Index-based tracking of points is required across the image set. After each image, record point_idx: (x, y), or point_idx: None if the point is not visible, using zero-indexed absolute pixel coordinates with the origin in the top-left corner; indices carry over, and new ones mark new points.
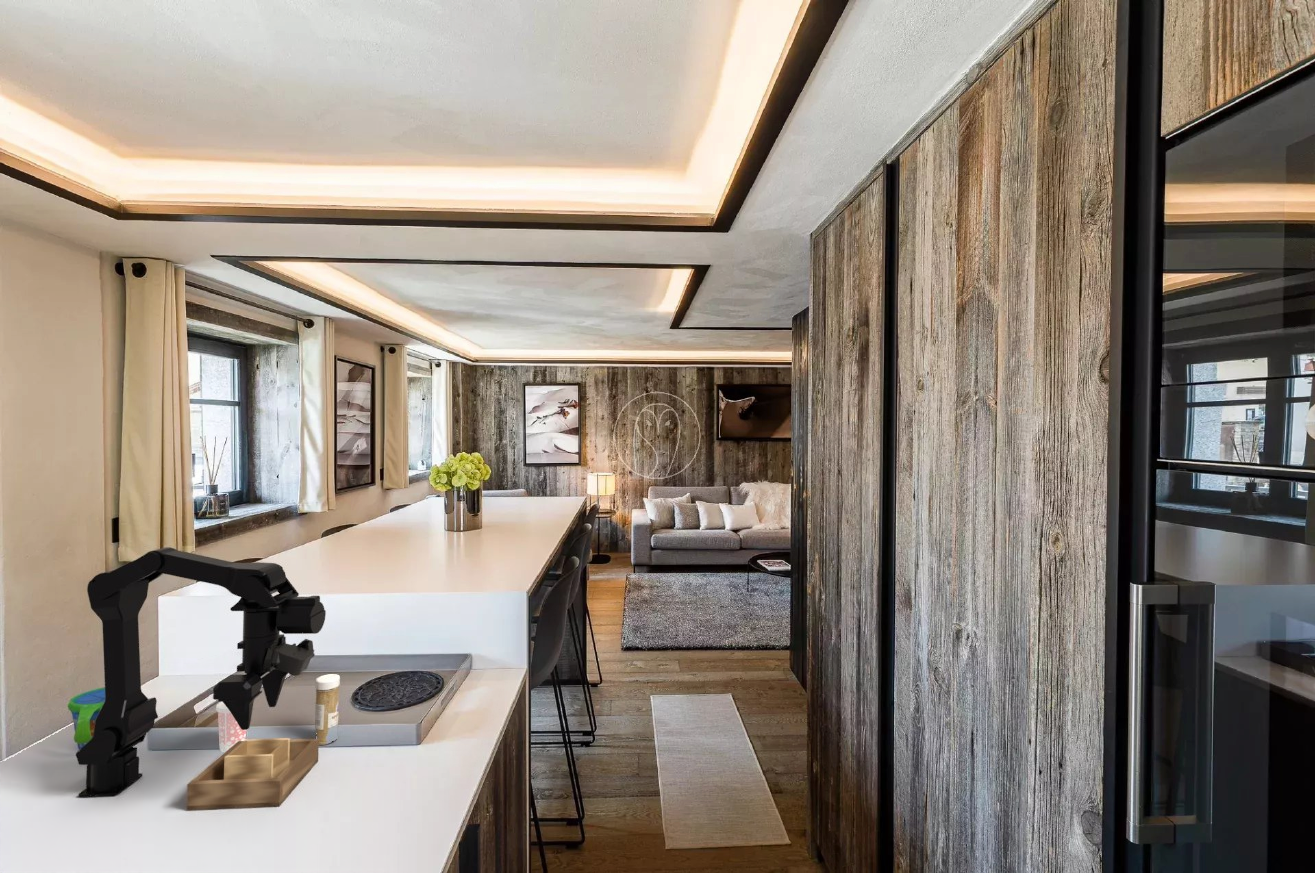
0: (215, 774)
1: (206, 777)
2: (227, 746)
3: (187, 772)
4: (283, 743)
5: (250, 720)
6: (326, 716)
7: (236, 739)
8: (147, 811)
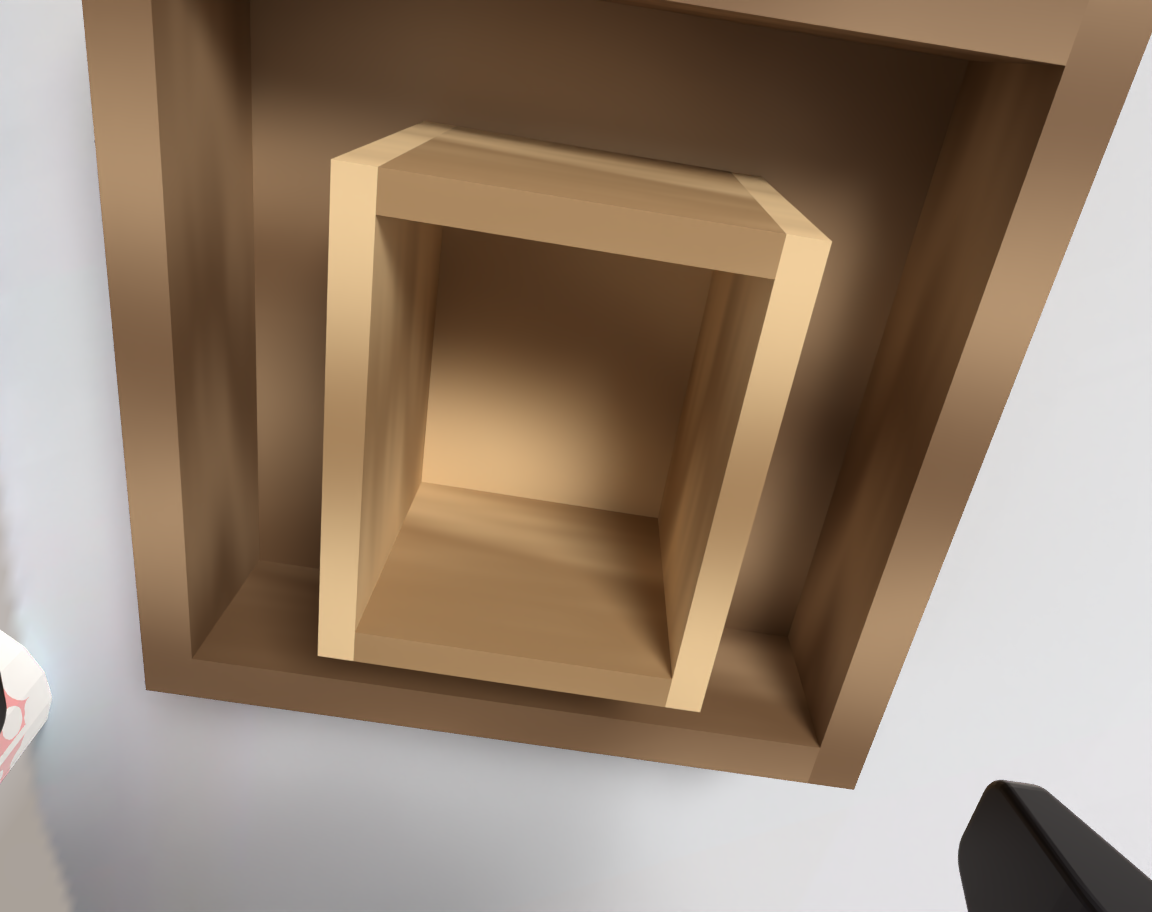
0: None
1: None
2: (30, 712)
3: (322, 797)
4: (490, 197)
5: (1123, 906)
6: None
7: None
8: (742, 824)
